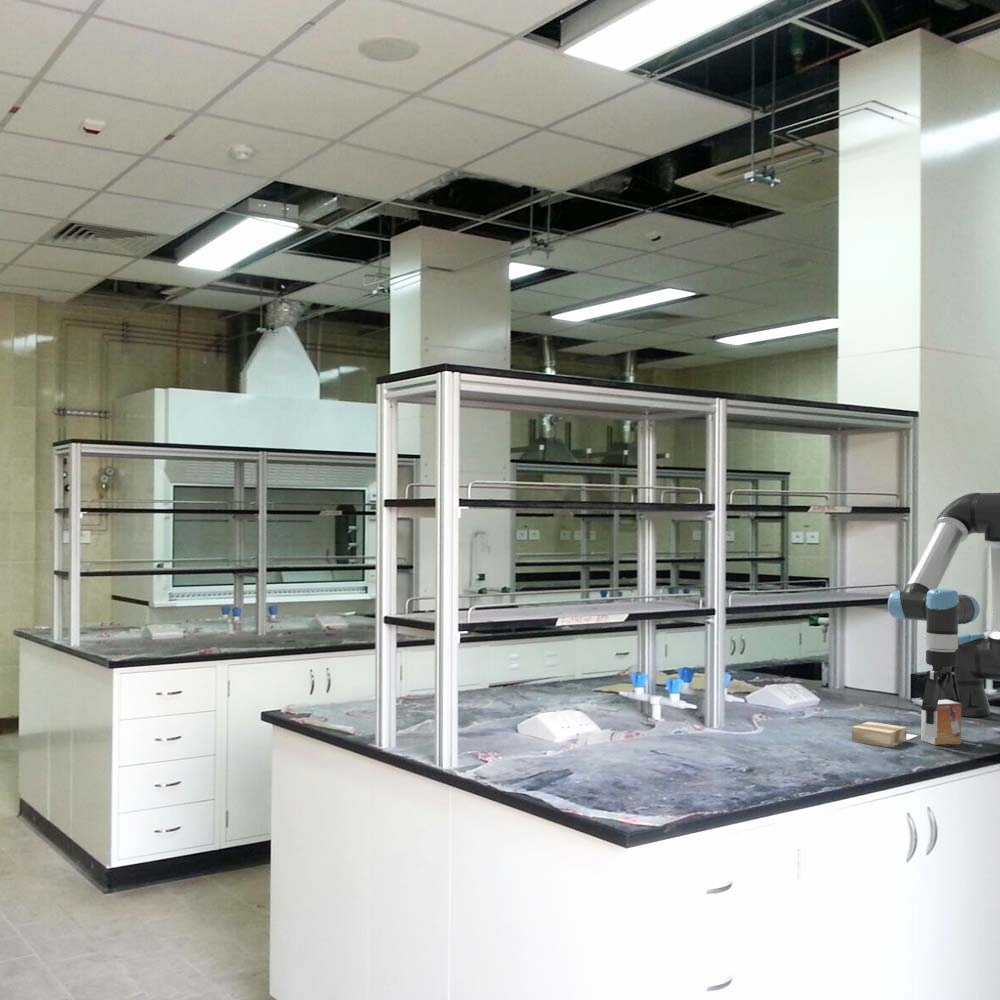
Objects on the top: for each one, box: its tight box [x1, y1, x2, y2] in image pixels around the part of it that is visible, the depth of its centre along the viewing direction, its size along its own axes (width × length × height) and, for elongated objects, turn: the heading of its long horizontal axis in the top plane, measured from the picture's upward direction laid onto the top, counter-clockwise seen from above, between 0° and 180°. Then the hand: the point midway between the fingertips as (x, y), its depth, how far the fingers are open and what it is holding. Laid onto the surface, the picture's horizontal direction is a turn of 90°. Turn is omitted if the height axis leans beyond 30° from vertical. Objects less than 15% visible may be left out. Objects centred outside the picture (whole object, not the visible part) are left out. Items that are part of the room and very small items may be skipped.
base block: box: [851, 720, 908, 748], centre depth 269 cm, size 10×10×4 cm
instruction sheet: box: [906, 733, 919, 741], centre depth 276 cm, size 7×10×1 cm
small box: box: [920, 699, 962, 746], centre depth 268 cm, size 8×6×10 cm
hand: (940, 732), depth 268 cm, fingers open, 13 cm apart
